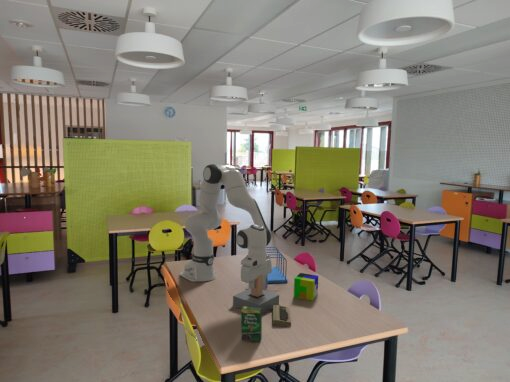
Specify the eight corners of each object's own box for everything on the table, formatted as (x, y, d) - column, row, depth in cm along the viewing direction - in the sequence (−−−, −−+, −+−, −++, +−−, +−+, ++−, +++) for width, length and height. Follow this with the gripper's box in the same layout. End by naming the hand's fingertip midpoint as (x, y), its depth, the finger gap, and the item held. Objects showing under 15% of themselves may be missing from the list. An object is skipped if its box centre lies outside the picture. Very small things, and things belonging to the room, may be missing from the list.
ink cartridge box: (267, 287, 198) (268, 262, 197) (266, 291, 193) (266, 265, 191) (250, 285, 200) (250, 260, 199) (248, 289, 195) (248, 263, 193)
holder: (232, 305, 173) (233, 295, 173) (253, 296, 186) (253, 286, 185) (258, 315, 163) (259, 304, 163) (278, 304, 176) (279, 294, 175)
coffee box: (240, 340, 141) (240, 308, 140) (242, 336, 144) (242, 305, 143) (260, 343, 139) (260, 310, 138) (261, 339, 142) (262, 307, 141)
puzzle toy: (317, 293, 191) (318, 275, 190) (312, 300, 181) (313, 281, 180) (299, 290, 195) (300, 272, 194) (293, 297, 186) (294, 278, 185)
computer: (291, 327, 154) (291, 319, 153) (272, 326, 154) (272, 319, 154) (289, 311, 169) (289, 304, 169) (272, 310, 170) (272, 304, 169)
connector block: (251, 294, 174) (251, 274, 173) (256, 292, 177) (256, 272, 176) (257, 296, 171) (257, 276, 170) (262, 294, 174) (262, 274, 173)
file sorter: (287, 283, 206) (288, 257, 204) (257, 284, 203) (258, 258, 202) (277, 269, 231) (278, 246, 229) (251, 270, 228) (251, 246, 226)
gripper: (265, 253, 182) (264, 279, 184) (238, 261, 166) (238, 290, 168) (275, 255, 178) (274, 282, 180) (248, 264, 162) (248, 294, 164)
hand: (256, 286), depth 174 cm, fingers closed on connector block, 4 cm apart
